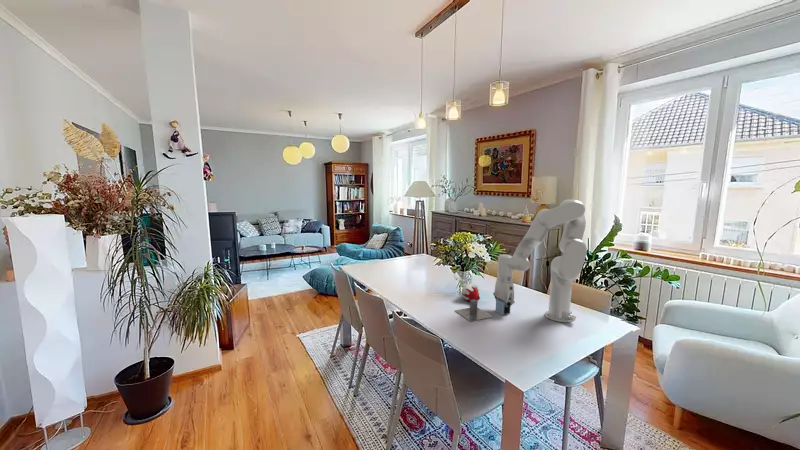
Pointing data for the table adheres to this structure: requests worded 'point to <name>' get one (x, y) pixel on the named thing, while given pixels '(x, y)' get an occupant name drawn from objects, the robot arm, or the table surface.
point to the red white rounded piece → (470, 292)
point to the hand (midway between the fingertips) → (502, 311)
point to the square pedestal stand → (473, 312)
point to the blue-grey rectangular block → (500, 306)
